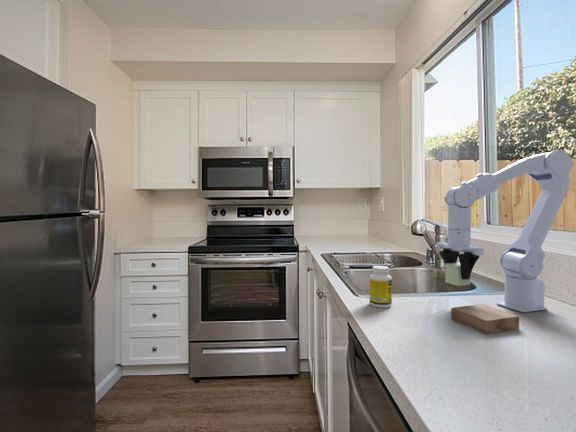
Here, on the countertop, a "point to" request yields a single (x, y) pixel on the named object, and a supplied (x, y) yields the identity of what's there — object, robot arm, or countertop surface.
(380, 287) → the pill bottle
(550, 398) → the countertop surface
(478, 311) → the walnut base
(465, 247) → the robot arm
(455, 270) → the sage cube
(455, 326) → the countertop surface
